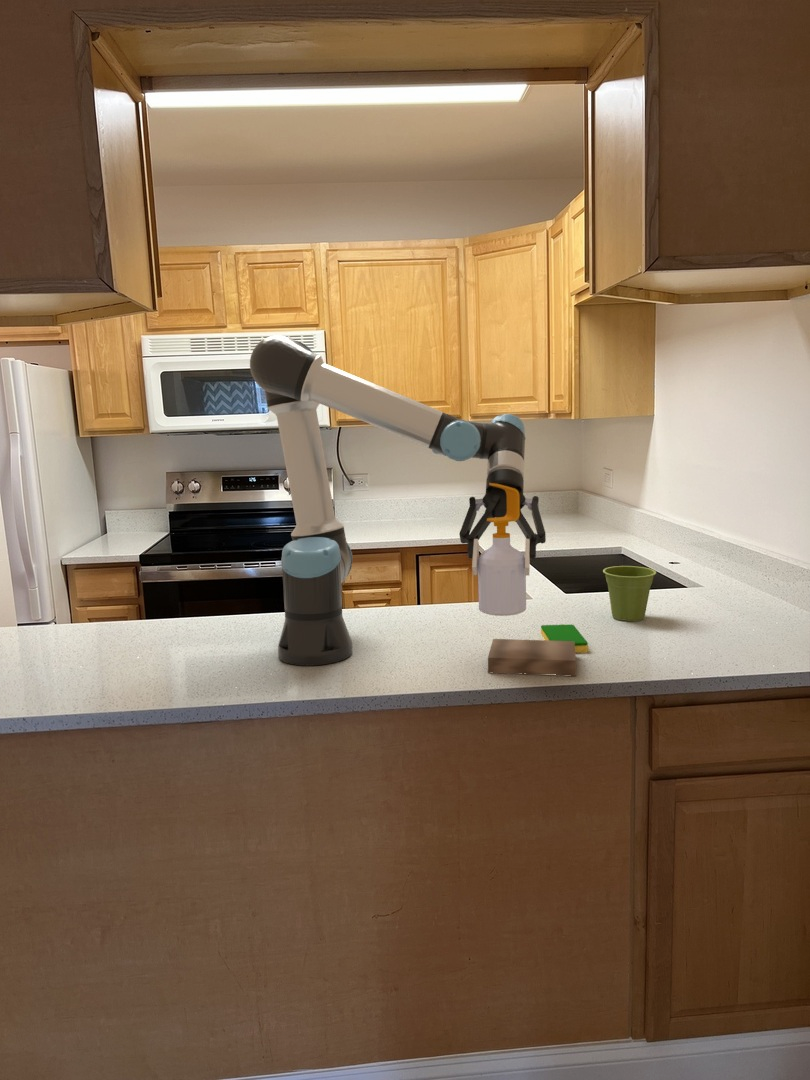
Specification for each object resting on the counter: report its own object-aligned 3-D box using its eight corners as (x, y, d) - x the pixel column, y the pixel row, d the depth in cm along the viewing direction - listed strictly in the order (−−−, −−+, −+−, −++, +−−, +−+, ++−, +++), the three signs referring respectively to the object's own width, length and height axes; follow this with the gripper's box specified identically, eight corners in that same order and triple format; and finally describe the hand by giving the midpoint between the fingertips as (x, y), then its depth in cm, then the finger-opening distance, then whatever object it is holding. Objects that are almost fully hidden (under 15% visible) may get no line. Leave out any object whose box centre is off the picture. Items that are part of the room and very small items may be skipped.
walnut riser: (488, 672, 139) (487, 657, 139) (493, 653, 151) (493, 638, 151) (575, 676, 136) (575, 660, 136) (574, 655, 148) (574, 641, 147)
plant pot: (591, 617, 175) (592, 570, 174) (622, 609, 183) (623, 563, 181) (634, 627, 166) (635, 578, 164) (665, 618, 173) (666, 570, 171)
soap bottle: (470, 608, 146) (467, 482, 142) (510, 602, 149) (509, 479, 145) (493, 618, 138) (491, 486, 134) (535, 612, 141) (534, 482, 137)
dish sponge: (552, 655, 150) (552, 643, 150) (540, 635, 164) (540, 624, 164) (588, 654, 150) (588, 642, 150) (573, 634, 164) (573, 624, 163)
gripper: (559, 489, 153) (560, 582, 140) (454, 491, 157) (445, 581, 144) (559, 465, 147) (560, 560, 134) (449, 467, 151) (440, 559, 138)
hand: (500, 571), depth 139 cm, fingers closed on soap bottle, 9 cm apart
